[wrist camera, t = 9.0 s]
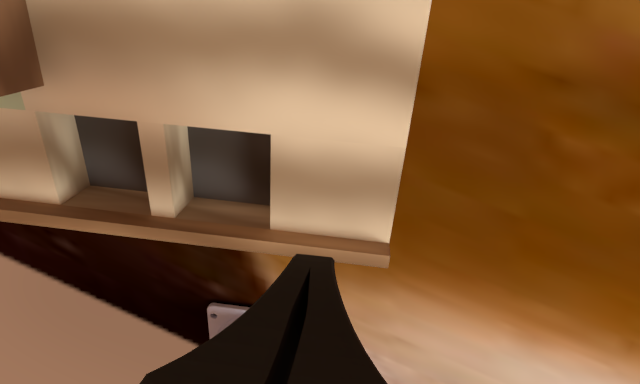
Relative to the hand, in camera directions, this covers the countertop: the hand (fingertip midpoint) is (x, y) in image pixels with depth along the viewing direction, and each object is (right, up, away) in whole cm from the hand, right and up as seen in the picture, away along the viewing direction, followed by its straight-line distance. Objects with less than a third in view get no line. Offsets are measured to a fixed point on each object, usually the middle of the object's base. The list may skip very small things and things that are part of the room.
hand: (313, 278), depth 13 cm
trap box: (-8, +9, +8) cm, 14 cm away
